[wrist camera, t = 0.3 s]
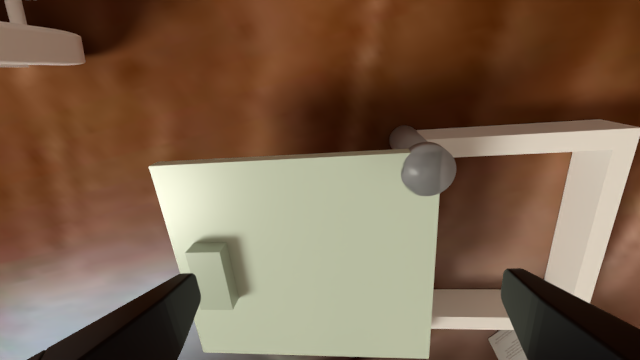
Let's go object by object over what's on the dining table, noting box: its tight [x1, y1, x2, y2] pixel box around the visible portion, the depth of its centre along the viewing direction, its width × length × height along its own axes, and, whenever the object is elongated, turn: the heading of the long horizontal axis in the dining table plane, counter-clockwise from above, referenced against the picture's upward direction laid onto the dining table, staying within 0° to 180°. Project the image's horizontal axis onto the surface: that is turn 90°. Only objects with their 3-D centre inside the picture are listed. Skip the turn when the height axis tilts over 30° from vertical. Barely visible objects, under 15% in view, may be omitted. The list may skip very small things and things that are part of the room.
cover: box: [149, 142, 456, 359], centre depth 17 cm, size 16×14×2 cm
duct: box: [389, 119, 640, 330], centre depth 20 cm, size 16×14×6 cm
